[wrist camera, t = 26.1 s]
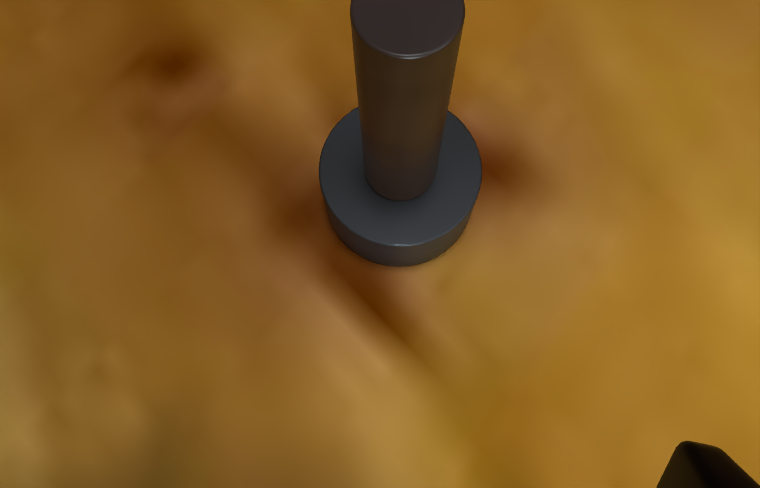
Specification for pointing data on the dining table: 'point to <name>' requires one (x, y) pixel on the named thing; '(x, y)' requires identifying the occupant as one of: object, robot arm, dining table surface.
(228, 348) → the dining table surface
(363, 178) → the grey peg stand
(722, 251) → the dining table surface
